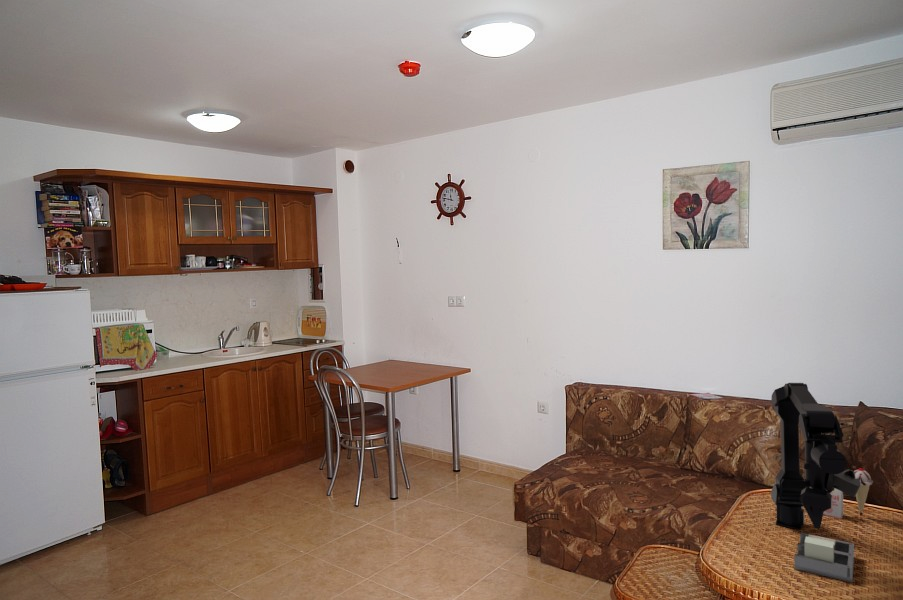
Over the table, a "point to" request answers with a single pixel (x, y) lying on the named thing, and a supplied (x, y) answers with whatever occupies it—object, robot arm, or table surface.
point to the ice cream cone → (862, 487)
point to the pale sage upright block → (819, 549)
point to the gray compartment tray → (836, 569)
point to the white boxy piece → (835, 505)
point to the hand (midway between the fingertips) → (818, 521)
